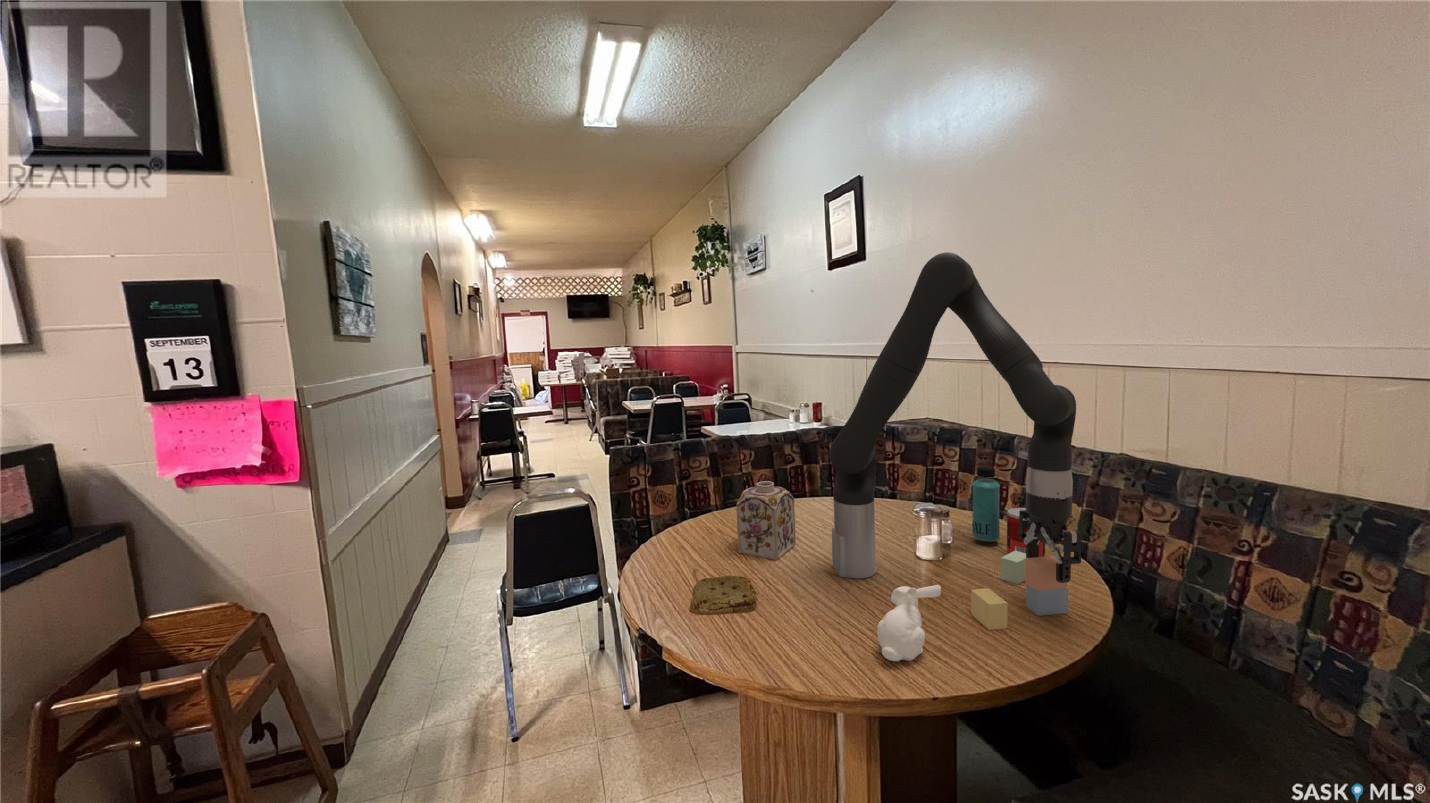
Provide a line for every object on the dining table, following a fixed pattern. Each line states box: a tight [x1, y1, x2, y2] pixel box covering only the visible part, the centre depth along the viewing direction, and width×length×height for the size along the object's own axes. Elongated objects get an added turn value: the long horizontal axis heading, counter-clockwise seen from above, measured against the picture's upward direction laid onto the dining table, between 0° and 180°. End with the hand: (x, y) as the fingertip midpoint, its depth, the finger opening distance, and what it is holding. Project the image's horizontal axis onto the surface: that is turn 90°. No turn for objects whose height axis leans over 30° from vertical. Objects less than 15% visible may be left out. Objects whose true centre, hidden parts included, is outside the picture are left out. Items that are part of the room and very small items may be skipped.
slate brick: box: [1025, 583, 1069, 617], centre depth 105 cm, size 6×4×5 cm, turn 95°
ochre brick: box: [970, 587, 1009, 631], centre depth 102 cm, size 6×4×5 cm, turn 5°
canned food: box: [1006, 507, 1046, 557], centre depth 129 cm, size 8×8×11 cm
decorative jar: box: [735, 480, 797, 561], centre depth 141 cm, size 12×12×18 cm
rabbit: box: [876, 584, 942, 662], centre depth 93 cm, size 12×9×12 cm
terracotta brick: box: [1024, 555, 1068, 591], centre depth 104 cm, size 6×4×5 cm, turn 94°
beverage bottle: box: [971, 466, 1001, 542], centre depth 138 cm, size 6×7×20 cm
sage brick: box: [1000, 551, 1026, 585], centre depth 119 cm, size 6×4×5 cm, turn 124°
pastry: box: [689, 575, 757, 616], centre depth 116 cm, size 17×17×3 cm
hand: (1047, 572), depth 104 cm, fingers open, 8 cm apart
